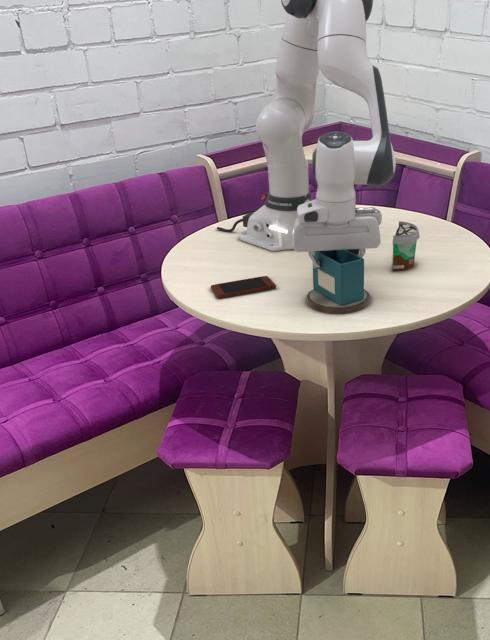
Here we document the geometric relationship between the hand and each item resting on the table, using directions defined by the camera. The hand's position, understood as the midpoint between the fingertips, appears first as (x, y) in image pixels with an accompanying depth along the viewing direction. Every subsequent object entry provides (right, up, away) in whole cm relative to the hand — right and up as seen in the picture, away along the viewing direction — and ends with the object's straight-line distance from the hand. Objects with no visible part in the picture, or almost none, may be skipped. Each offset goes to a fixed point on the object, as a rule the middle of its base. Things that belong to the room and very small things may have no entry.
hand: (336, 266), depth 175 cm
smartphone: (-23, -4, +11) cm, 26 cm away
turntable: (0, -7, +4) cm, 9 cm away
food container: (+18, +4, +23) cm, 29 cm away
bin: (0, -6, +3) cm, 7 cm away
